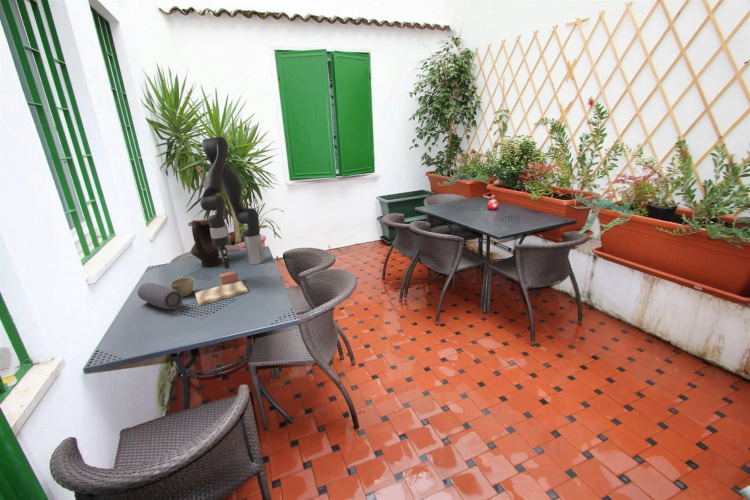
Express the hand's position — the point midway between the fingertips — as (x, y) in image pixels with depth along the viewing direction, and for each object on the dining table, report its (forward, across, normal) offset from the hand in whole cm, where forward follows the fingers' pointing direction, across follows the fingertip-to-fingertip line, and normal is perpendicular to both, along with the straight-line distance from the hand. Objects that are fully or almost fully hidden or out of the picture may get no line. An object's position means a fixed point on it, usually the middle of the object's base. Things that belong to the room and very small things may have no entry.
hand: (225, 266), depth 175 cm
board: (+10, -10, +5) cm, 15 cm away
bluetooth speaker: (+11, -5, +30) cm, 33 cm away
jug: (+10, +41, +4) cm, 42 cm away
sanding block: (+10, 0, 0) cm, 10 cm away
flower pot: (+11, +2, +20) cm, 23 cm away
